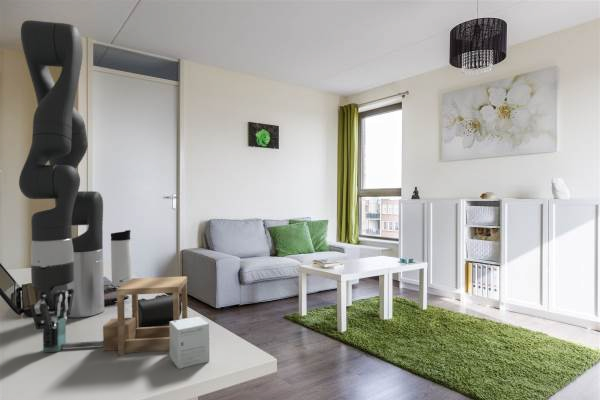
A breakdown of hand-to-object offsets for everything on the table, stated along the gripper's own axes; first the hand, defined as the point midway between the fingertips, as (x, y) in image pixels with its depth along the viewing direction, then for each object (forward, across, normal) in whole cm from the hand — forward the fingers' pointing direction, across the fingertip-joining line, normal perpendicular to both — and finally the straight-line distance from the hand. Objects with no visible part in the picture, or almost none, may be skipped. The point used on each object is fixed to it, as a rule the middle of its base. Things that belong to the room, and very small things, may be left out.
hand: (55, 343), depth 82 cm
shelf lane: (+1, 0, +20) cm, 20 cm away
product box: (+2, +10, +29) cm, 30 cm away
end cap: (+2, -13, +17) cm, 22 cm away
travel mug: (+2, -56, -4) cm, 57 cm away
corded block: (+1, 0, +7) cm, 7 cm away
